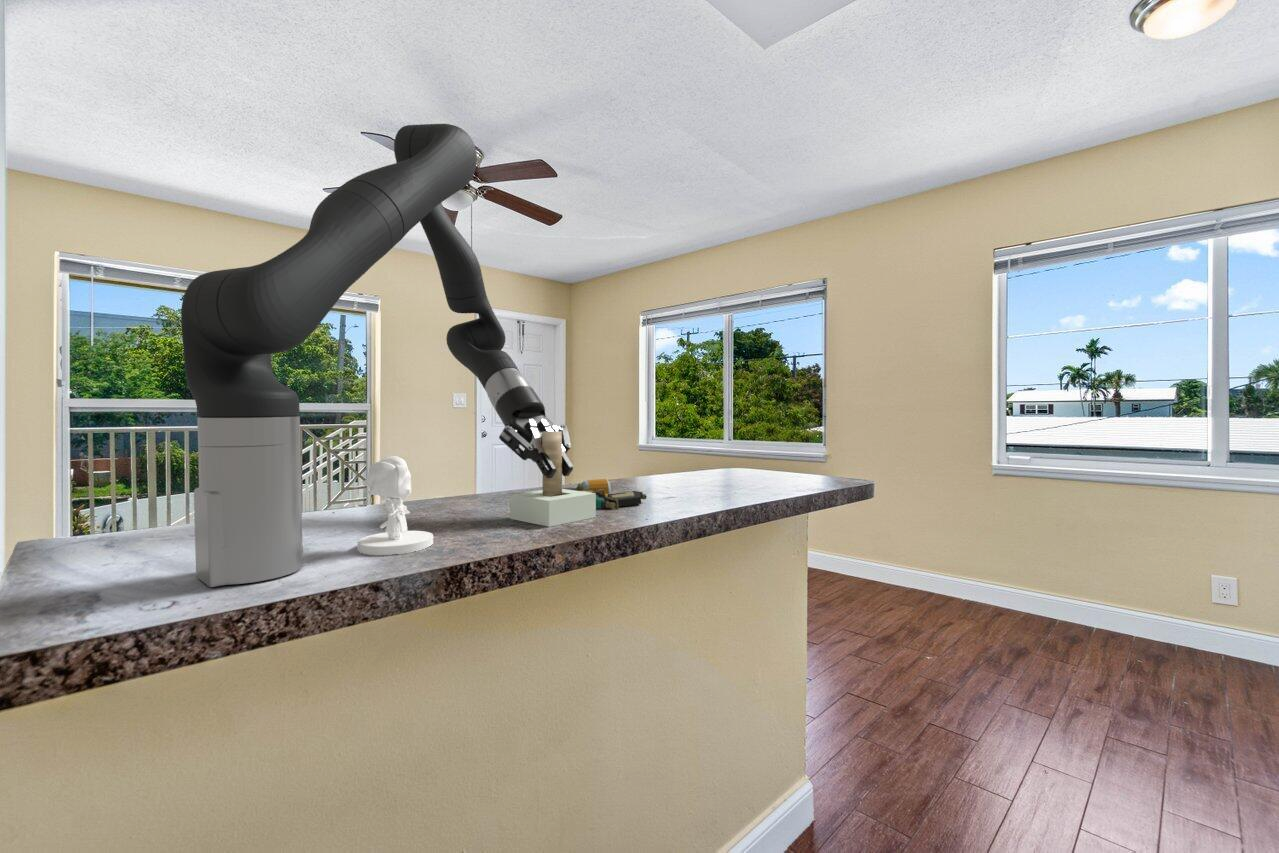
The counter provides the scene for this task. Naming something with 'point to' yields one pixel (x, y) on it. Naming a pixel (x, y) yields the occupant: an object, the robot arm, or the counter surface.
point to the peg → (554, 451)
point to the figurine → (392, 510)
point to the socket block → (552, 507)
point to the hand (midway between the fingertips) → (560, 473)
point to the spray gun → (609, 494)
